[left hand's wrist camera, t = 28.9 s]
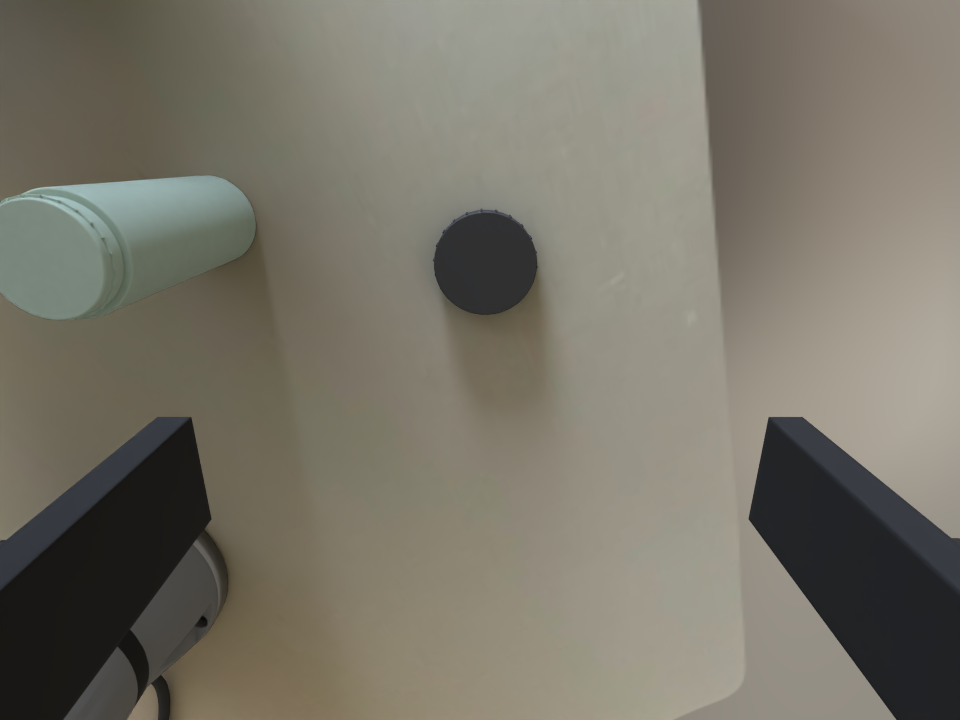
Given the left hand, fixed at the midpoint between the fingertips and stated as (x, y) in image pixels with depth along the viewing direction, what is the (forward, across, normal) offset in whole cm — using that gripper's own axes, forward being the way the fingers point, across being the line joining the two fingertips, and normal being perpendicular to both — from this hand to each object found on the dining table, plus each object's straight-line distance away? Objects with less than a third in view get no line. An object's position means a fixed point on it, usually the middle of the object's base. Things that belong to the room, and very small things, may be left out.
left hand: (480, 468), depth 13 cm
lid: (+25, 0, 0) cm, 25 cm away
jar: (+26, +17, -3) cm, 31 cm away
